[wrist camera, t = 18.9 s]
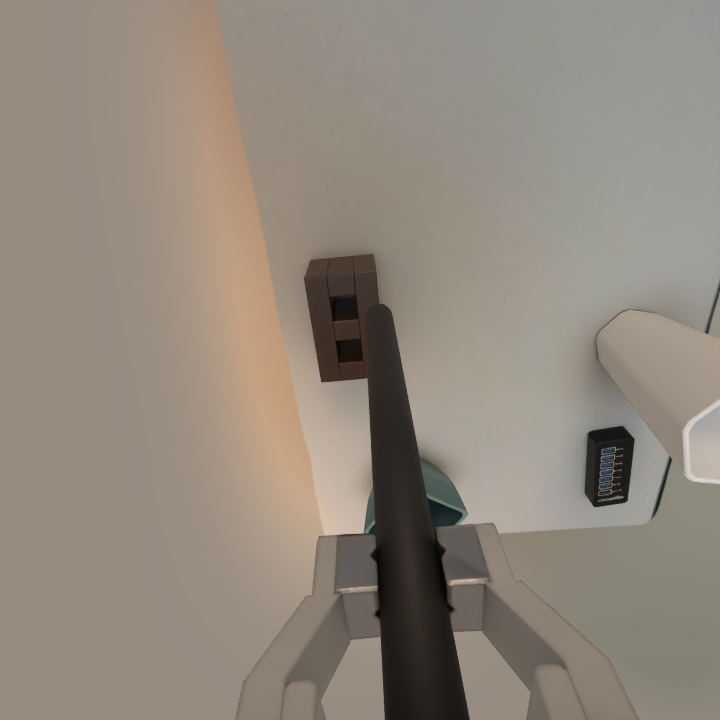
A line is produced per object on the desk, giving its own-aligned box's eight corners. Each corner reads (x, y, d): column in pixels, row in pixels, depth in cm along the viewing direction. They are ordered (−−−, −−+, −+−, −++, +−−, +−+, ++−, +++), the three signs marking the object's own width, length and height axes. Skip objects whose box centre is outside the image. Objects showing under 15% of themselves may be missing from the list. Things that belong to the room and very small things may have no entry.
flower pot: (396, 432, 53) (403, 484, 45) (454, 459, 55) (470, 514, 47) (360, 479, 57) (361, 535, 49) (416, 502, 59) (426, 560, 51)
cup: (563, 372, 49) (655, 478, 34) (598, 289, 45) (722, 368, 30) (654, 384, 50) (783, 492, 35) (698, 303, 46) (868, 387, 30)
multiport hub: (624, 425, 53) (635, 437, 51) (618, 489, 58) (627, 502, 56) (588, 431, 53) (597, 443, 51) (584, 495, 58) (593, 508, 56)
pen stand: (325, 355, 48) (321, 382, 43) (310, 260, 43) (303, 278, 38) (381, 349, 48) (385, 376, 43) (373, 253, 43) (376, 270, 38)
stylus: (358, 314, 25) (372, 915, 6) (375, 294, 25) (445, 890, 6) (380, 329, 26) (453, 927, 7) (397, 309, 25) (529, 906, 6)
